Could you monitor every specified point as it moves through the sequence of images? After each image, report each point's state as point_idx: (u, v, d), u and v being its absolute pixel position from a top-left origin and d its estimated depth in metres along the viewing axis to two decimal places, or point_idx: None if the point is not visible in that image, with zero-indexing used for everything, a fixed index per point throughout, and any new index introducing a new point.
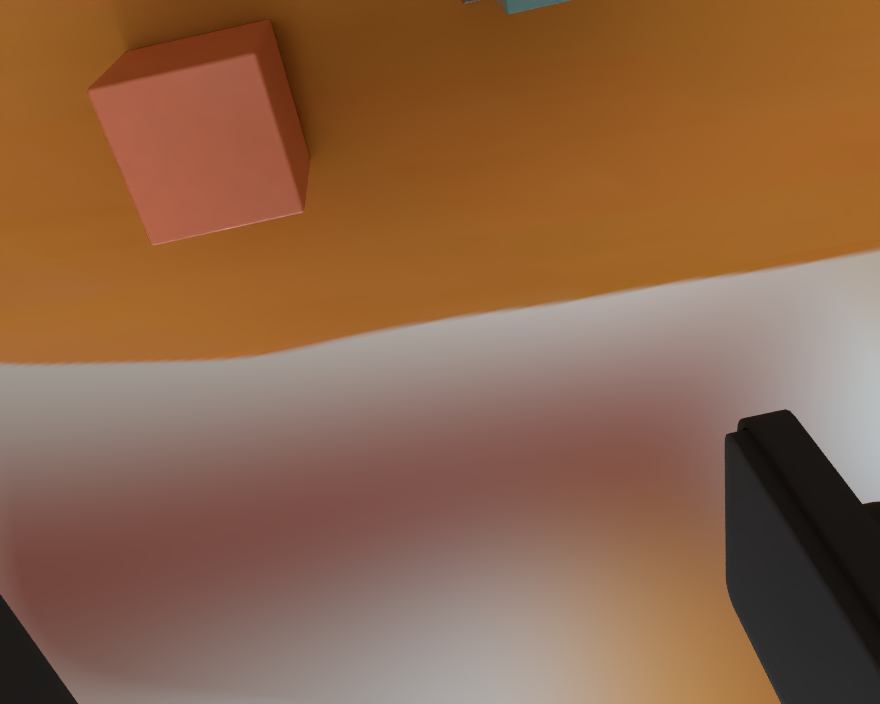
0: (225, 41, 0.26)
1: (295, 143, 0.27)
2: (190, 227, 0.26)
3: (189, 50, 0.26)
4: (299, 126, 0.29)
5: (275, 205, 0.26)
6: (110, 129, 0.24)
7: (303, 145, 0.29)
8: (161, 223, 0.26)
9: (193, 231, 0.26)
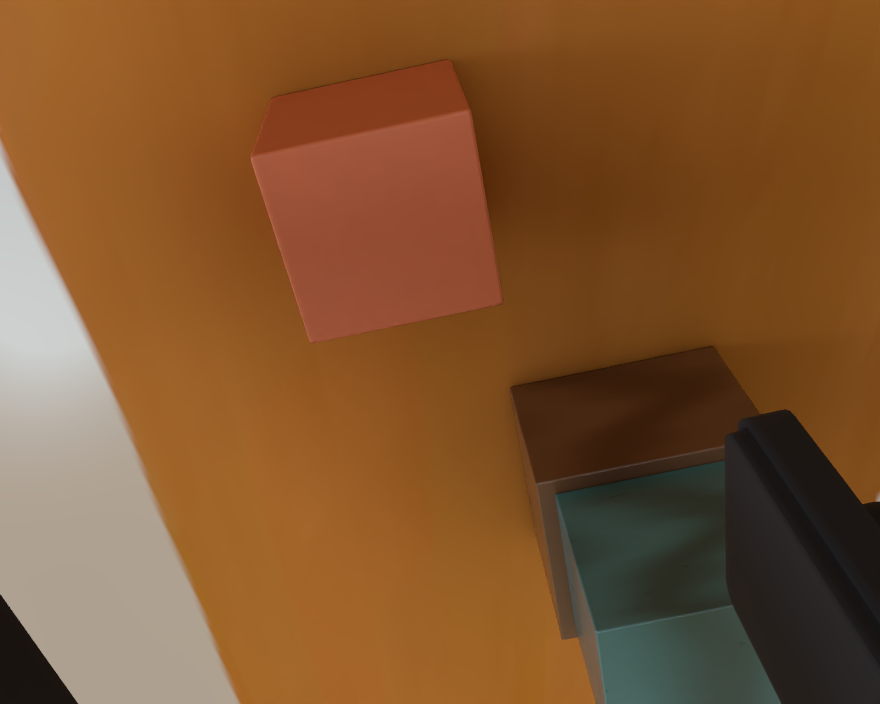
0: None
1: None
2: (282, 212, 0.19)
3: None
4: None
5: (319, 314, 0.20)
6: (418, 130, 0.18)
7: None
8: (286, 175, 0.19)
9: (276, 215, 0.19)
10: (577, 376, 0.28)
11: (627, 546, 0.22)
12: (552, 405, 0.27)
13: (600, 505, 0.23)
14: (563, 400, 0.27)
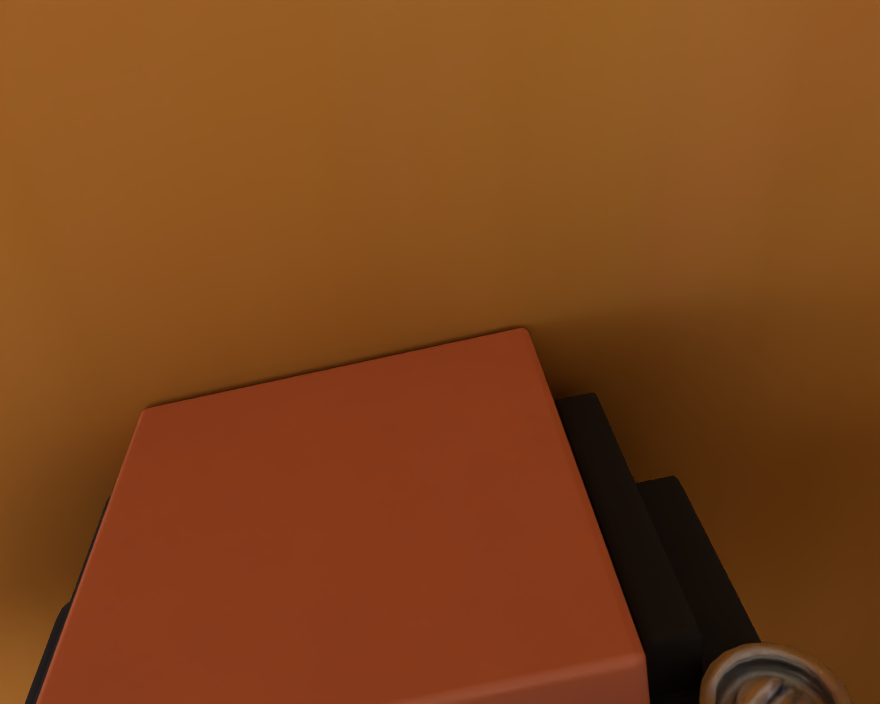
0: None
1: None
2: None
3: None
4: None
5: None
6: None
7: None
8: None
9: None
10: None
11: None
12: None
13: None
14: None
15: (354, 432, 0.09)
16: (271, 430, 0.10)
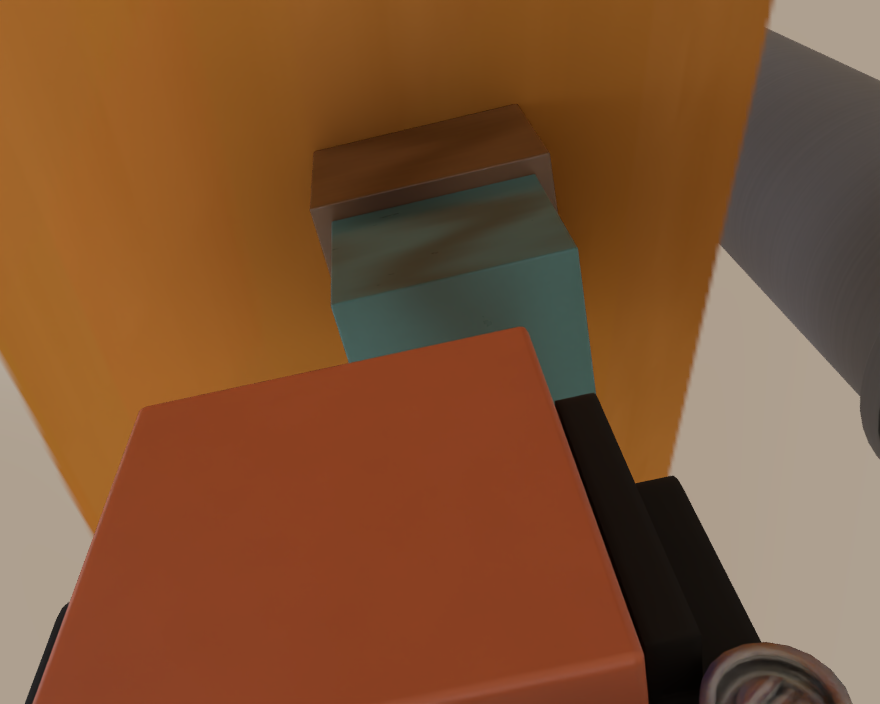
0: None
1: None
2: None
3: None
4: None
5: None
6: None
7: None
8: None
9: None
10: (380, 137, 0.28)
11: (384, 246, 0.22)
12: (348, 158, 0.26)
13: (371, 223, 0.23)
14: (360, 153, 0.27)
15: (352, 431, 0.09)
16: (269, 429, 0.09)
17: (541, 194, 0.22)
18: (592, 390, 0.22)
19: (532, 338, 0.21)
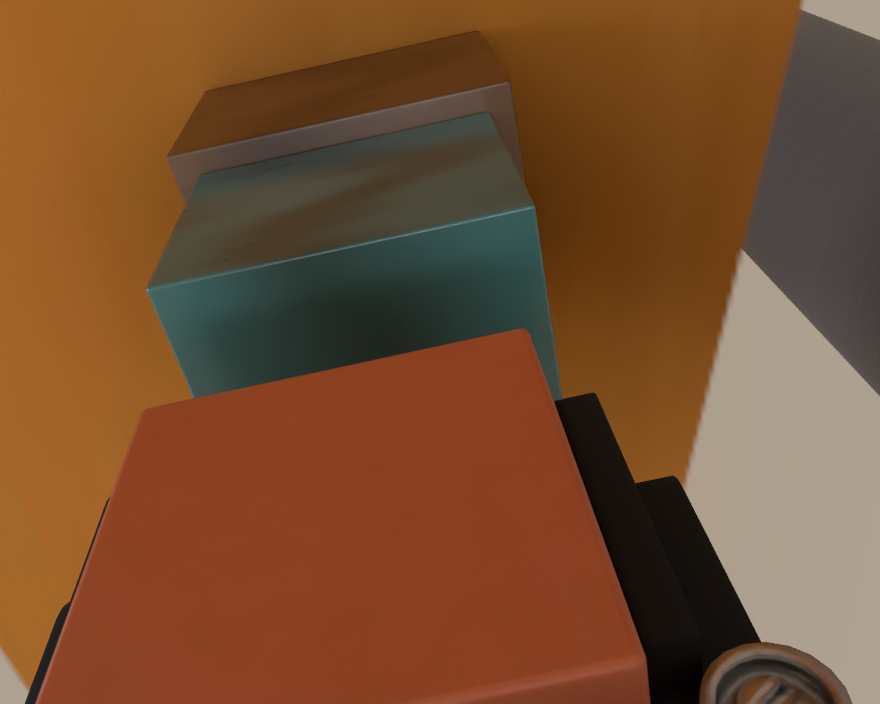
0: None
1: None
2: None
3: None
4: None
5: None
6: None
7: None
8: None
9: None
10: (294, 73, 0.20)
11: (255, 206, 0.15)
12: (243, 96, 0.19)
13: (249, 177, 0.16)
14: (260, 91, 0.19)
15: (354, 433, 0.09)
16: (271, 431, 0.09)
17: (494, 135, 0.15)
18: None
19: None
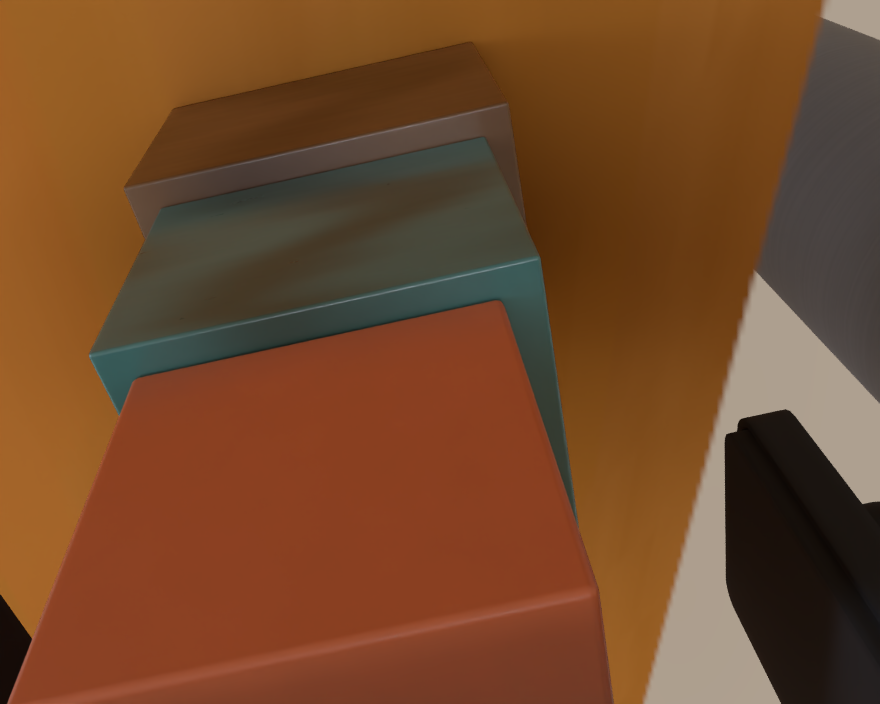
0: None
1: None
2: None
3: None
4: None
5: None
6: (456, 638, 0.07)
7: None
8: None
9: None
10: (270, 88, 0.19)
11: (219, 250, 0.13)
12: (214, 115, 0.18)
13: (215, 212, 0.14)
14: (232, 110, 0.18)
15: (334, 396, 0.10)
16: (256, 396, 0.10)
17: (490, 166, 0.14)
18: (569, 498, 0.13)
19: None
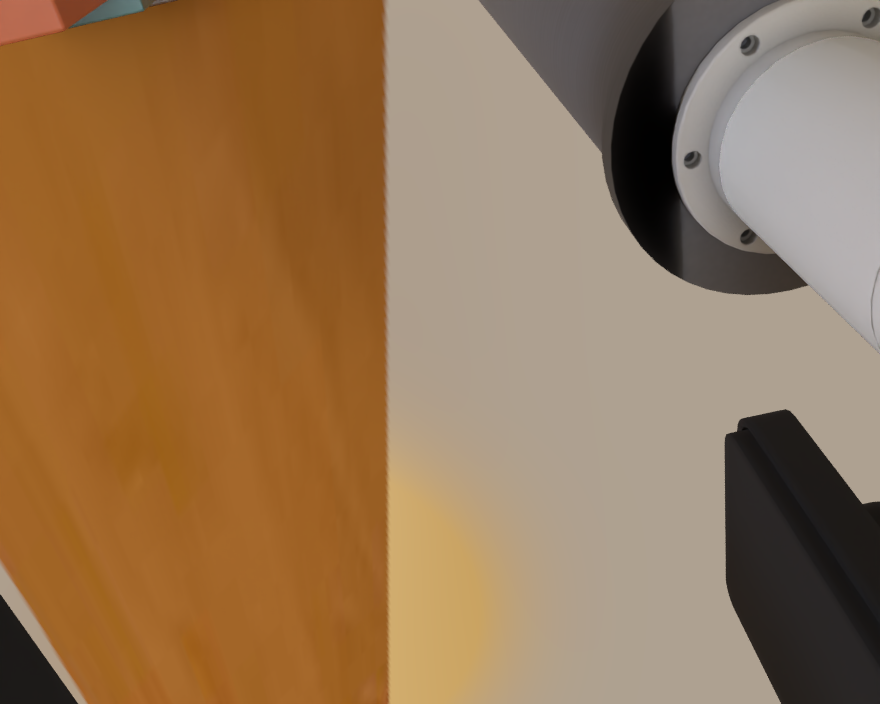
0: None
1: None
2: None
3: None
4: None
5: None
6: None
7: None
8: None
9: None
10: None
11: None
12: None
13: None
14: None
15: None
16: None
17: None
18: None
19: None
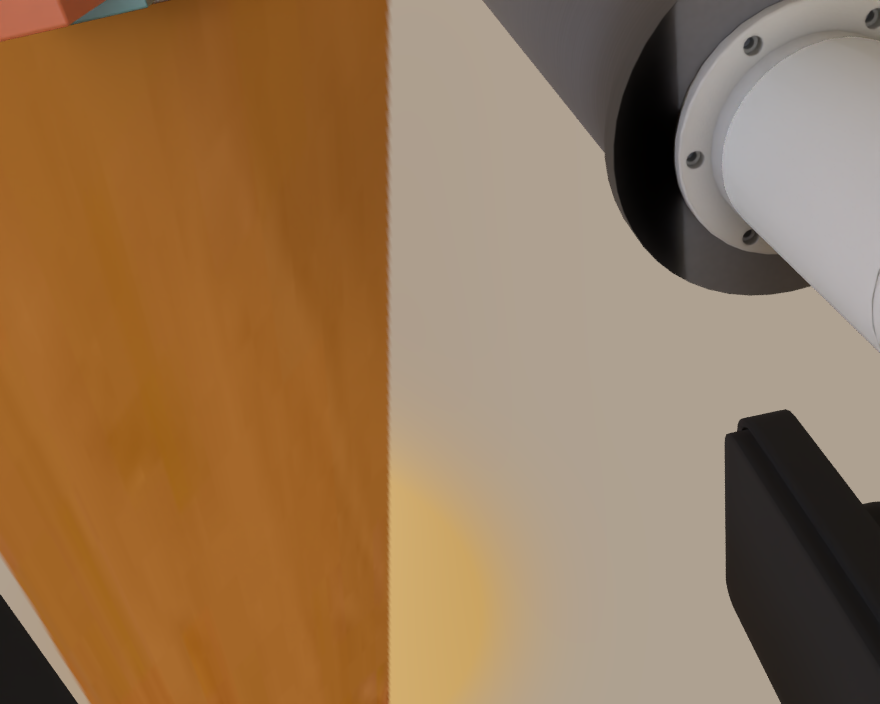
0: None
1: None
2: None
3: None
4: None
5: None
6: None
7: None
8: None
9: None
10: None
11: None
12: None
13: None
14: None
15: None
16: None
17: None
18: None
19: None
